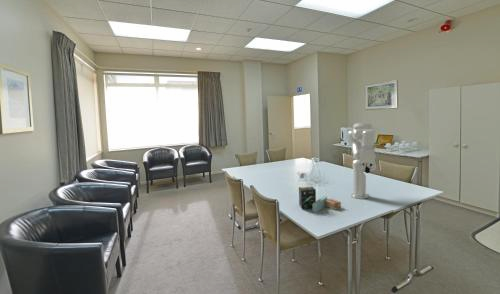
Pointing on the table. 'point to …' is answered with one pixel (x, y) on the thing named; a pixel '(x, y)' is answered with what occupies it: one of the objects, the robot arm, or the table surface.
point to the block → (332, 204)
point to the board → (319, 204)
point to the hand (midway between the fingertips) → (367, 172)
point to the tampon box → (307, 197)
